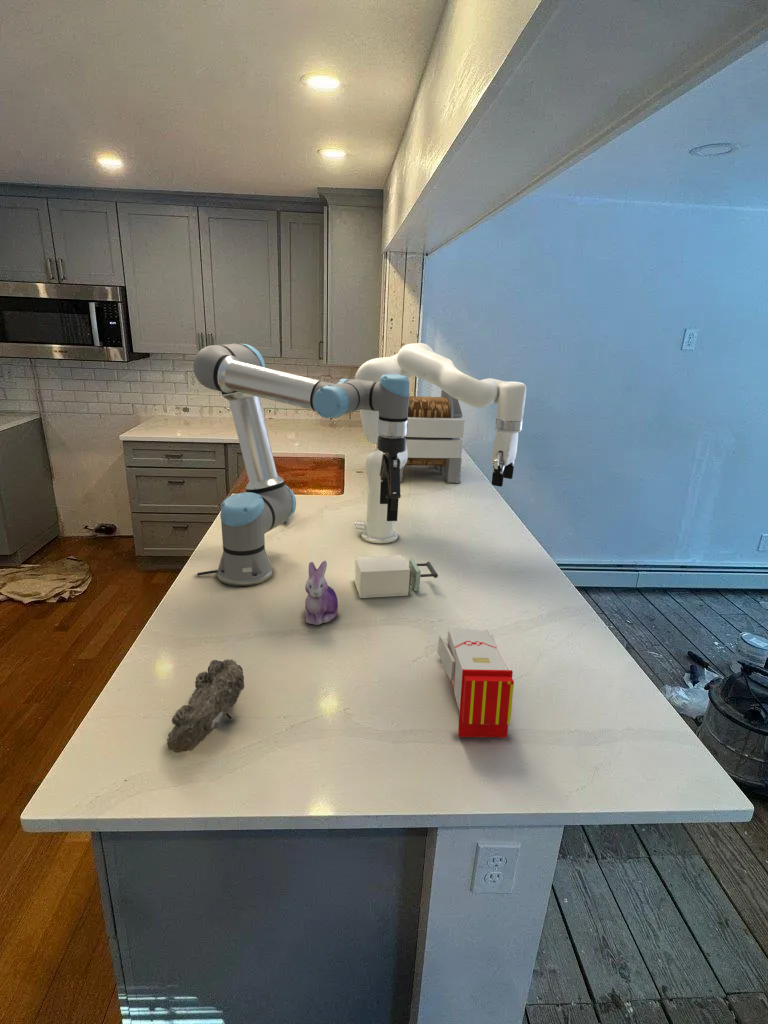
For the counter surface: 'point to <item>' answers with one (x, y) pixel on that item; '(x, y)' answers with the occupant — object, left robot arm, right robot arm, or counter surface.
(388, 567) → the open cream box
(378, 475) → the right robot arm
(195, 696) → the fossil
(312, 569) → the figurine
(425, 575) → the drawer
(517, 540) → the counter surface
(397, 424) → the left robot arm
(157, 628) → the counter surface
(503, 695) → the toy
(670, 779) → the counter surface
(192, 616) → the counter surface
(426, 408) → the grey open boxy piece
